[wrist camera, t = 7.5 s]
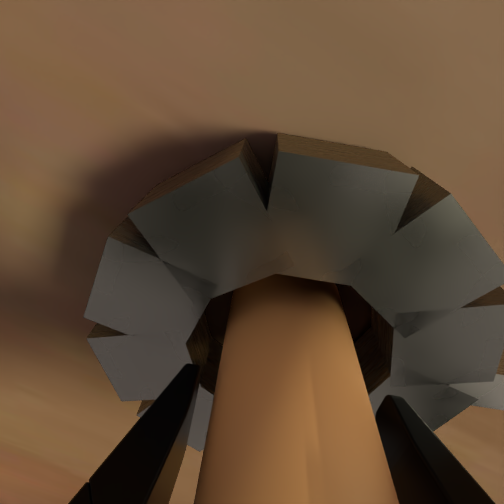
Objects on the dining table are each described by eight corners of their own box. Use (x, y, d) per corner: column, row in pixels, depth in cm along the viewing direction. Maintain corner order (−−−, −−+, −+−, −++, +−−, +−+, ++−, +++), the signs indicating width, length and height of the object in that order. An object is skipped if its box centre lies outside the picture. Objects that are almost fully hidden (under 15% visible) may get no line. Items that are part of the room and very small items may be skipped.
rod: (323, 350, 13) (379, 675, 6) (225, 335, 13) (169, 647, 6) (354, 269, 11) (492, 616, 4) (239, 250, 11) (176, 574, 4)
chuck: (595, 462, 15) (663, 545, 12) (124, 391, 14) (91, 462, 12) (889, 239, 9) (1140, 308, 6) (103, 102, 8) (27, 116, 6)
